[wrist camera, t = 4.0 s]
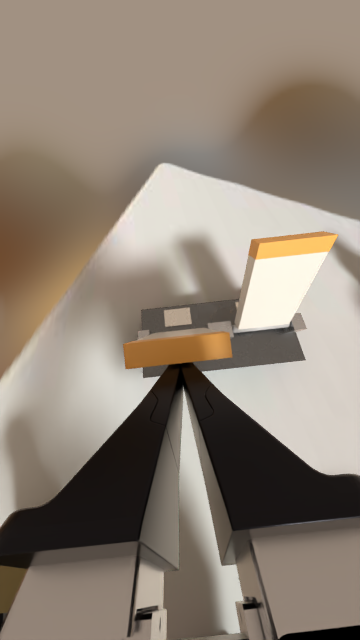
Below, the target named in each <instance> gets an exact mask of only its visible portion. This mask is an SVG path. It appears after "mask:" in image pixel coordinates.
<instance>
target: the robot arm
mask: <svg viewBox="0 0 360 640" xmlns="http://www.w3.org/2000/svg"><path fill="white" fill-rule="evenodd" d="M183 386H184V392H185V396H186V401H187V405H188V410H189V414H190V419H191V423H192V427H193V432H194V436H195V441H196V445H197V450H198V454H199V458H200V463H201V467H202V471H203V476H204V481H205V485H206V490H207V495H208V500H209V505H210V510H211V515H212V520H213V525H214V530H215V535H216V540H217V545H218V550H219V555H220V560H221V565H222V566H225V565H234V564H236V566H237V571H238V576H239V581H240V586H241V591H242V596H243V601H237V602H235V604H236V610H237V616H238V621H239V627H240V633H236V634H226V635H216V636H206V637H196V638H186V639H176V640H360V476H359V475H356V474H340V475H326V474H323V473H320V472H318V471H316V470H315V469H313V468H312V467H310V466H309V465H308V464H306V463H305V462H304V461H303V460H302V459H300V458H299V457H298V456H297V455H296V454H294V453H293V452H292V451H291V450H290V449H288V448H287V447H286V446H285V445H284V444H282V443H281V442H280V441H279V440H277V439H276V438H275V437H274V436H273V435H271V434H270V433H269V432H268V431H267V430H265V429H264V428H263V427H262V426H261V425H259V424H258V423H257V422H256V421H255V420H253V419H252V418H251V417H250V416H249V415H247V414H246V413H245V412H244V411H242V410H241V409H240V408H239V407H238V406H236V405H235V404H234V403H233V402H232V401H230V400H229V399H228V398H227V397H226V396H225V395H223V394H222V393H221V392H220V391H219V390H218V389H217V388H216V387H215V386H214V385H213V384H212V383H211V382H210V381H209V380H208V379H207V377H206V376H205V375H204V374H203V373H202V372H201V371H200V370H199V369H198V368H197V367H196V366H195V365H194V364H193V363H192V362H186V363H177V364H169V365H168V367H167V368H166V369H165V371H164V372H163V374H162V375H161V376H160V378H159V379H158V380H157V382H156V383H155V384H154V386H153V387H152V389H151V390H150V391H149V392H148V394H147V395H146V396H145V398H144V399H143V400H142V402H141V403H140V404H139V405H138V406H137V407H136V409H135V410H134V411H133V412H132V413H131V414H130V415H129V416H128V417H127V419H126V420H125V421H124V422H123V423H122V424H121V425H120V426H119V427H118V429H117V430H116V431H115V432H114V433H113V434H112V435H111V436H110V437H109V438H108V440H107V441H106V442H105V443H104V444H103V445H102V446H101V447H100V448H99V450H98V451H97V452H96V453H95V454H94V455H93V456H92V457H91V458H90V459H89V461H88V462H87V463H86V464H85V465H84V466H83V467H82V468H81V469H80V471H79V472H78V473H77V474H76V475H75V476H74V477H73V478H72V479H71V480H70V482H69V483H68V484H67V485H66V486H65V487H64V488H63V489H62V490H61V492H60V493H59V494H57V495H56V496H55V497H54V498H53V499H52V500H51V501H49V502H48V503H46V504H44V505H42V506H39V507H33V508H25V509H20V510H17V511H15V512H13V513H12V514H10V515H9V517H8V518H7V519H6V520H5V522H4V523H3V524H2V526H1V527H0V565H1V566H8V567H15V568H23V569H27V570H26V572H25V574H24V577H23V579H22V581H21V583H20V586H19V588H18V590H17V592H16V594H15V597H14V599H13V601H12V603H11V606H10V608H9V610H8V612H7V613H0V640H166V634H167V609H163V595H164V572H167V571H176V570H179V468H180V448H181V428H182V408H183Z"/></svg>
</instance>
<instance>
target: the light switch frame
mask: <svg viewBox="0 0 360 640" xmlns="http://www.w3.org/2000/svg"><path fill="white" fill-rule="evenodd" d="M238 303H239V299H236V300H227V301H218V302H209V303H201V304H192V305H183V306H174V307H165V308H156V309H147V310H141V311H142V331H138V339H140V338H143V337H145V336H148V335H150V334H153V333H159V332H169V331H178V330H187V329H196V328H208V329H212V330H217V331H225V332H230V341H231V349H232V358H223V359H214V360H205V361H196V362H192V363H193V364H194V365H195V366H196V367H197V368H198V369H199V370H200V371H201V372H202V371H211V370H220V369H229V368H238V367H247V366H256V365H266V364H275V363H284V362H293V361H302V360H305V357H304V354H303V351H302V349H301V346H300V343H299V340H298V338H297V335H296V332H298V331H301V330H305V329H307V328H306V326H305V323H304V321H303V318H302V315H301V313H296V314H294V316H293V318H292V320H291V322H290V325H289V327H285V328H276V329H267V330H258V331H249V332H240V333H233V330H232V325H236V324H235V323H234V322H235V317H236V313H237V308H238ZM168 365H169V364H168ZM168 365H159V366H150V367H143V378H147V377H156V376H161V375H162V374H163V372H164V371H165V369H166V368H167V367H168Z"/></svg>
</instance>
